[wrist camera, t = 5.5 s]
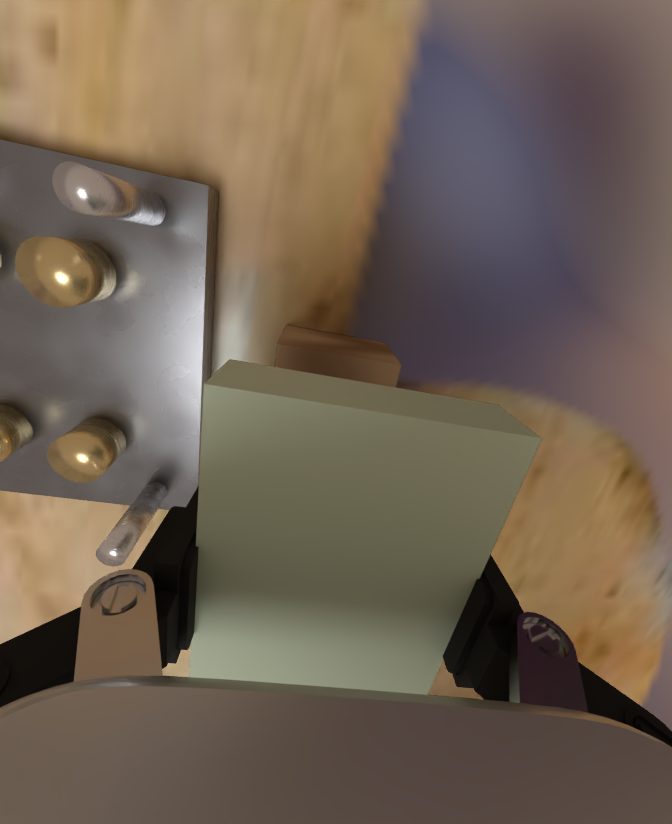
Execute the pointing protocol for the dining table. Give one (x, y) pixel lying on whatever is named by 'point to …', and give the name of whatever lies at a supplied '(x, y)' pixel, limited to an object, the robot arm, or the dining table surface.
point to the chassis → (103, 333)
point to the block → (337, 356)
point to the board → (343, 526)
